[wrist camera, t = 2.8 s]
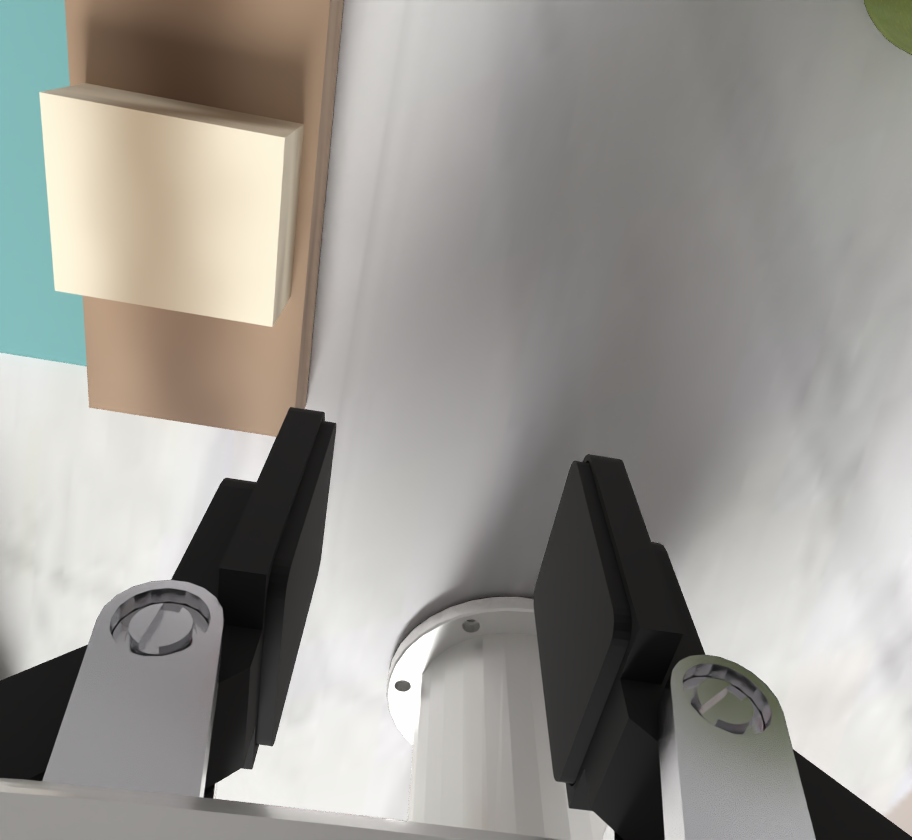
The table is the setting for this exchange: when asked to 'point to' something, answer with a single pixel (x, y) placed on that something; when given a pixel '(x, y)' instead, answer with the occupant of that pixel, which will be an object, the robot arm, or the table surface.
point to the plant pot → (893, 21)
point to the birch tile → (171, 202)
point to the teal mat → (31, 188)
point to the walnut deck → (310, 103)
